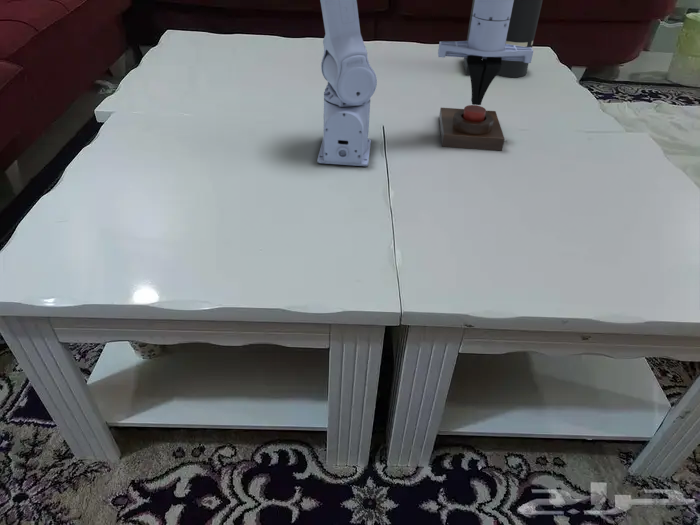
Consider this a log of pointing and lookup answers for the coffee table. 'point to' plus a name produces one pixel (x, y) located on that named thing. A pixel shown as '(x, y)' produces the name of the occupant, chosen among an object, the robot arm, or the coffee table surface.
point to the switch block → (470, 130)
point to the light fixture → (517, 34)
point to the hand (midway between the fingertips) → (475, 102)
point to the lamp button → (474, 113)
